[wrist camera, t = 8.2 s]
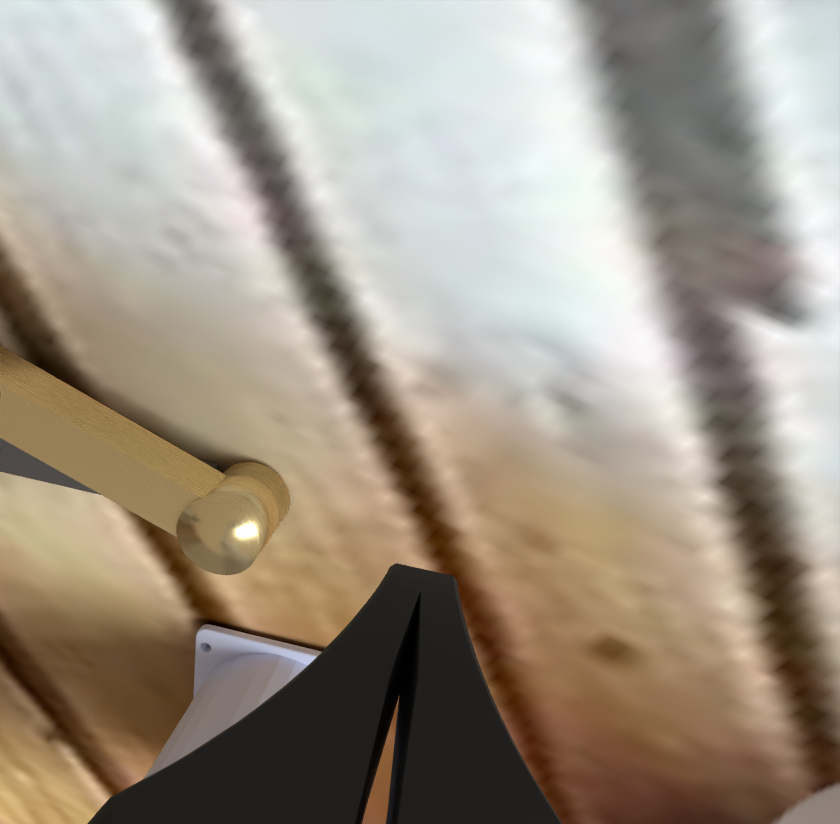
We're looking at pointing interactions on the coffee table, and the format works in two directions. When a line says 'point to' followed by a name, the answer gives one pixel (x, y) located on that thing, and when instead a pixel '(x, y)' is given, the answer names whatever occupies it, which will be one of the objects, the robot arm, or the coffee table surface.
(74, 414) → the lever
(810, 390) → the coffee table surface
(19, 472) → the levelling base
